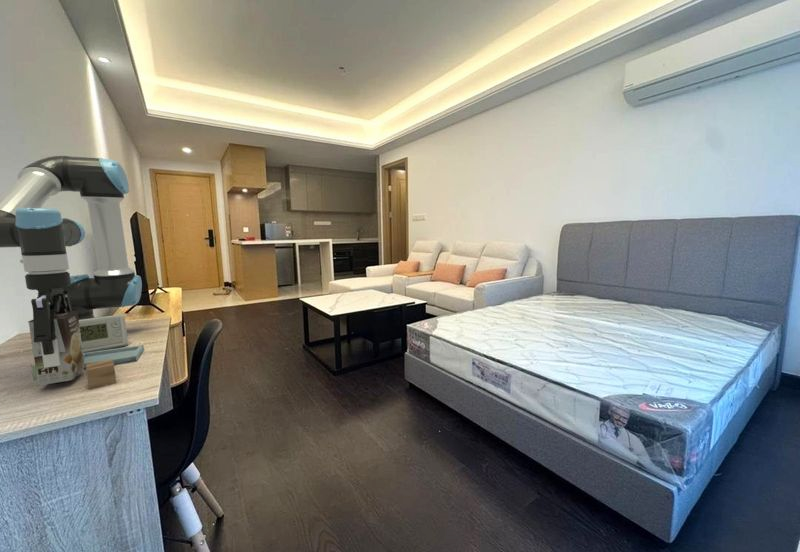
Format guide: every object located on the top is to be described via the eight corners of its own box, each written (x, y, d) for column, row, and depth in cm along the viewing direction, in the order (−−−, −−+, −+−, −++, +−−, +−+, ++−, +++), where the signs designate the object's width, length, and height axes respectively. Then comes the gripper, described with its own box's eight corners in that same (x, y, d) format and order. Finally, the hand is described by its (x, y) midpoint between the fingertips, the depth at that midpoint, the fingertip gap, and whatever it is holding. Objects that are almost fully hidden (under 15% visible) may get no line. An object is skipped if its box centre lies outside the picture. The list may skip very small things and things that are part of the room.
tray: (82, 358, 100) (82, 353, 100) (143, 349, 108) (143, 344, 107) (67, 372, 90) (66, 366, 90) (136, 361, 97) (135, 356, 97)
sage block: (40, 374, 89) (38, 360, 88) (65, 371, 91) (63, 357, 91) (33, 380, 85) (31, 365, 85) (59, 376, 88) (57, 361, 87)
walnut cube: (88, 383, 83) (86, 364, 82) (114, 377, 86) (112, 359, 86) (89, 389, 79) (86, 370, 79) (116, 383, 83) (113, 364, 82)
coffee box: (73, 380, 82) (64, 318, 79) (37, 386, 78) (26, 321, 76) (86, 367, 89) (78, 310, 87) (53, 372, 86) (44, 313, 84)
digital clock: (58, 359, 100) (53, 325, 99) (67, 350, 108) (63, 319, 106) (126, 349, 109) (122, 317, 107) (130, 341, 116) (127, 312, 115)
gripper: (46, 268, 88) (58, 348, 91) (0, 278, 69) (17, 379, 72) (83, 267, 92) (93, 344, 95) (49, 276, 73) (64, 371, 76)
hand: (60, 359), depth 83 cm, fingers closed on coffee box, 9 cm apart
